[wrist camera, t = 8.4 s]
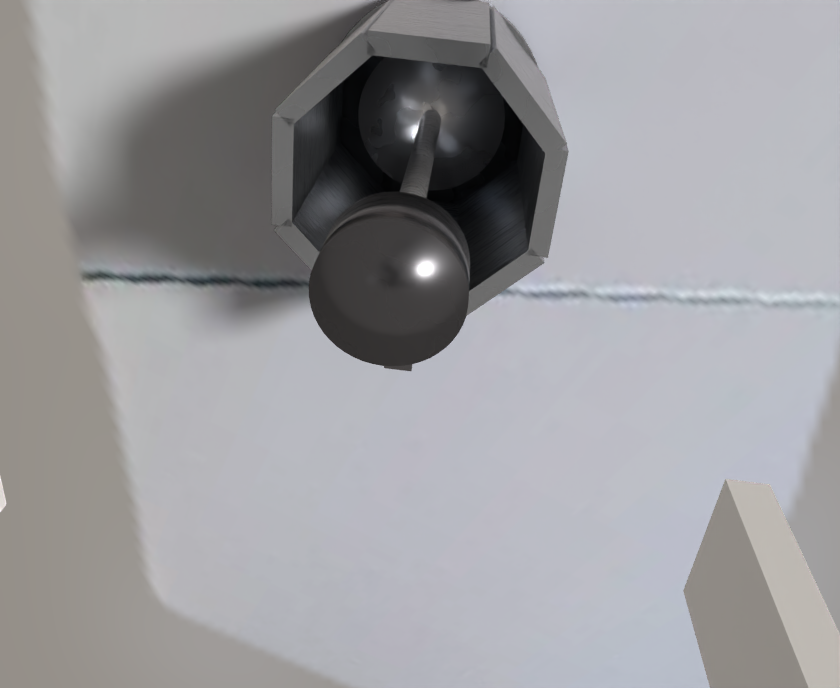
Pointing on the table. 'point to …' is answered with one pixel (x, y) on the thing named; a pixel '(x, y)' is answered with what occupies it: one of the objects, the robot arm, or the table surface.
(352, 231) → the plunger
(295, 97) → the octagonal container
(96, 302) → the table surface
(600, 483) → the table surface
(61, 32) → the table surface
